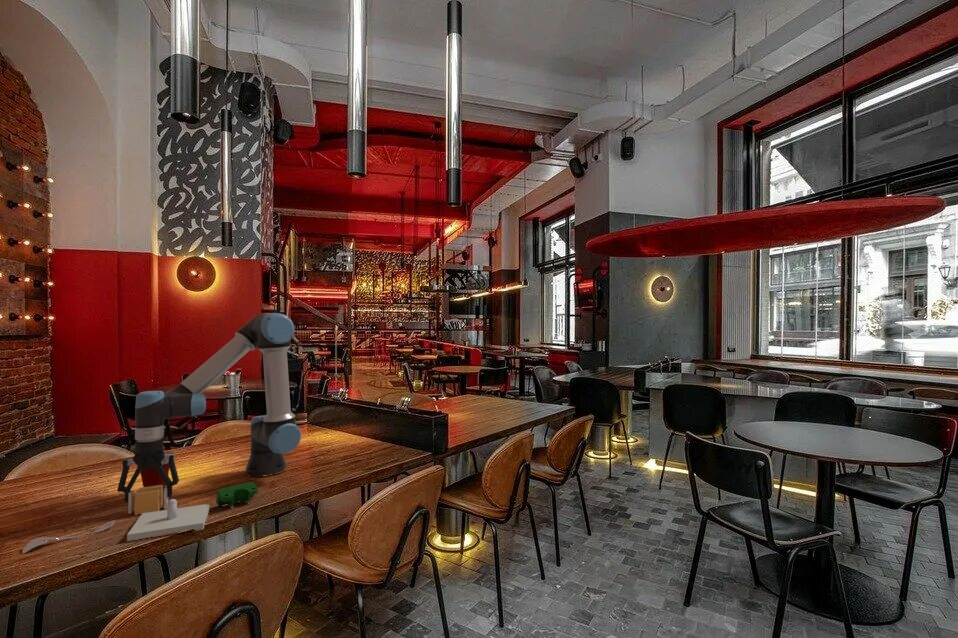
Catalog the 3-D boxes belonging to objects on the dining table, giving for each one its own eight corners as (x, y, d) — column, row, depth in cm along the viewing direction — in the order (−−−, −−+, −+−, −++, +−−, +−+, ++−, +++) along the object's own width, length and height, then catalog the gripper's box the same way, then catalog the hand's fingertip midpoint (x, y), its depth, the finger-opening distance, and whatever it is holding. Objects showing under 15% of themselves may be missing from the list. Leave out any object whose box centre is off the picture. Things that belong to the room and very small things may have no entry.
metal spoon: (113, 511, 136) (118, 515, 133) (114, 523, 136) (119, 527, 133) (19, 541, 120) (22, 546, 117) (20, 554, 120) (23, 559, 118)
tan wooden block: (162, 505, 150) (162, 484, 151) (158, 512, 145) (158, 490, 145) (139, 508, 148) (140, 487, 148) (134, 515, 142) (134, 493, 142)
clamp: (227, 522, 147) (217, 502, 144) (221, 512, 151) (211, 492, 148) (263, 499, 155) (255, 479, 151) (257, 491, 159) (248, 471, 155)
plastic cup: (132, 500, 155) (133, 465, 155) (139, 490, 164) (139, 457, 164) (170, 495, 160) (171, 461, 160) (174, 485, 169) (175, 453, 169)
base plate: (210, 509, 147) (210, 486, 147) (203, 529, 132) (203, 503, 132) (142, 519, 139) (142, 494, 139) (127, 542, 125) (127, 514, 125)
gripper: (104, 445, 139) (103, 520, 138) (186, 438, 148) (185, 508, 147) (112, 440, 146) (111, 511, 145) (190, 433, 155) (189, 500, 154)
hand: (148, 509), depth 146 cm, fingers open, 9 cm apart
